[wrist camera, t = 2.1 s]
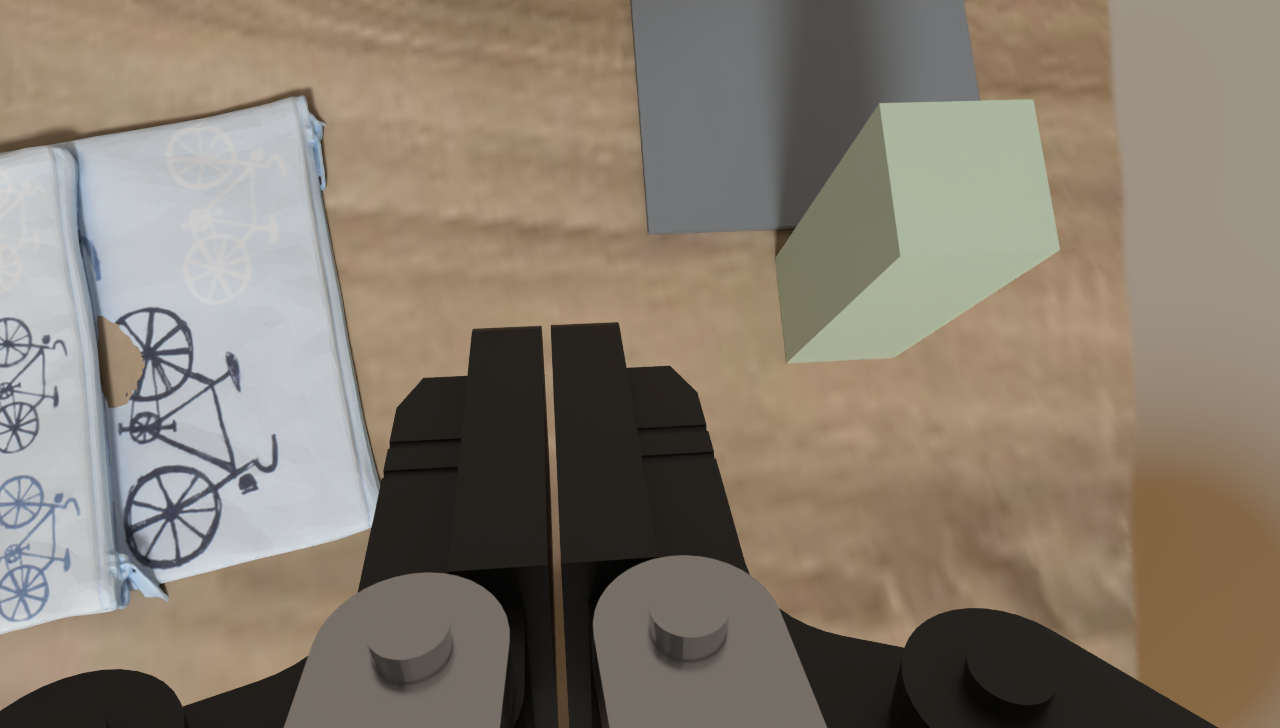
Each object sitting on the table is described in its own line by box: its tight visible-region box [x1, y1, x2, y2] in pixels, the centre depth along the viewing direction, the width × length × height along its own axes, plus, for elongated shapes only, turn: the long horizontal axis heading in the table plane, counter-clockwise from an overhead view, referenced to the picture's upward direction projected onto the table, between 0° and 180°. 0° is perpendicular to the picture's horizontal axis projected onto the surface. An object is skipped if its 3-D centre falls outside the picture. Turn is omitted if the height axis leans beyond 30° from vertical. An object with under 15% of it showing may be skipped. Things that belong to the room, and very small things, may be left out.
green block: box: [775, 100, 1060, 363], centre depth 32 cm, size 4×4×13 cm
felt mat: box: [630, 0, 980, 234], centre depth 40 cm, size 14×15×1 cm
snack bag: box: [0, 95, 380, 634], centre depth 34 cm, size 19×20×2 cm
